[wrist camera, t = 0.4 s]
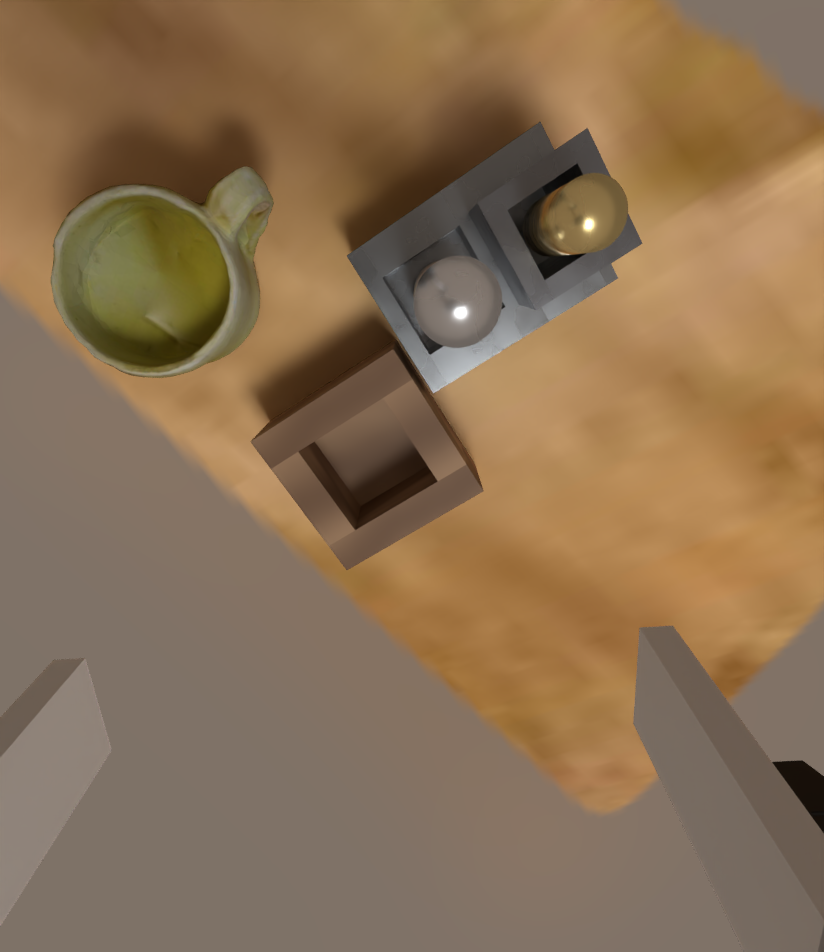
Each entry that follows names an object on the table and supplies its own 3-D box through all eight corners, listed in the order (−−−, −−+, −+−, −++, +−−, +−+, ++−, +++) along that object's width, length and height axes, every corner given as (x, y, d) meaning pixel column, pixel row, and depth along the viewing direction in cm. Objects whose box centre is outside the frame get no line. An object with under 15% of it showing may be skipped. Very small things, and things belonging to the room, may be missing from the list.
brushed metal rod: (403, 281, 36) (396, 288, 23) (451, 249, 35) (473, 237, 22) (432, 330, 37) (443, 364, 24) (480, 299, 36) (518, 316, 23)
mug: (174, 425, 38) (91, 398, 28) (96, 287, 38) (-13, 213, 28) (341, 331, 38) (318, 271, 28) (263, 195, 39) (213, 89, 29)
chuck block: (353, 257, 36) (335, 253, 28) (531, 134, 34) (569, 90, 26) (431, 381, 39) (436, 412, 30) (601, 274, 37) (657, 276, 28)
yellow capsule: (512, 216, 29) (541, 201, 23) (563, 182, 29) (607, 157, 22) (539, 268, 30) (575, 267, 23) (589, 236, 30) (640, 226, 23)
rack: (269, 421, 40) (250, 441, 35) (395, 339, 38) (393, 349, 33) (354, 536, 43) (346, 570, 38) (475, 465, 41) (483, 491, 36)
